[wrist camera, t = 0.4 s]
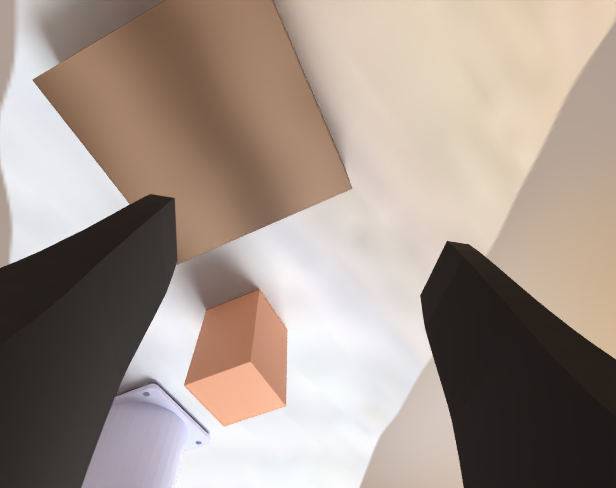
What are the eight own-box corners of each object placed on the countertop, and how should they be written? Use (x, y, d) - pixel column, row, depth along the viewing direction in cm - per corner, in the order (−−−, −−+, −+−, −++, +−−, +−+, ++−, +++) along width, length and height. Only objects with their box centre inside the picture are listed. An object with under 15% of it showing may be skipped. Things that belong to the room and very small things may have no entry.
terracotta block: (237, 348, 27) (223, 426, 22) (206, 310, 25) (183, 385, 20) (287, 329, 26) (285, 406, 21) (259, 288, 24) (250, 361, 19)
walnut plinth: (188, 240, 22) (177, 264, 20) (64, 72, 17) (32, 79, 15) (346, 170, 20) (352, 188, 18) (255, -41, 15) (249, -51, 13)
